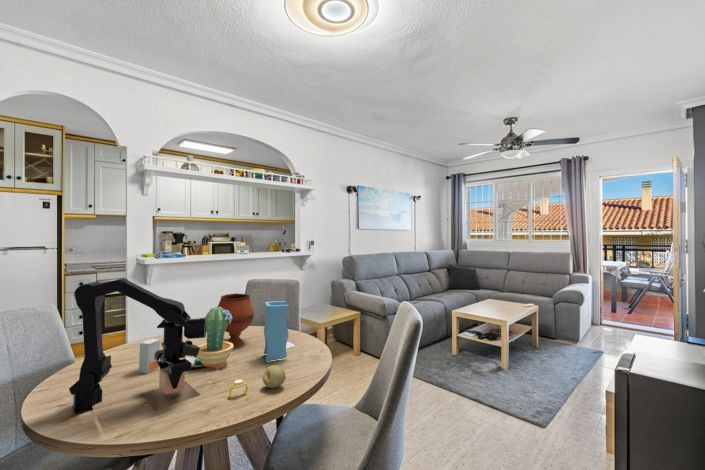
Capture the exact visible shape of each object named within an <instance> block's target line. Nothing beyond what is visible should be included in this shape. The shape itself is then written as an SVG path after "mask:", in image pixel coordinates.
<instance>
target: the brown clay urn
mask: <svg viewBox="0 0 705 470" xmlns="http://www.w3.org/2000/svg"><path fill="white" fill-rule="evenodd" d="M218 302H219V303H218V304H217V306H216V307H217V308H218V307H221V308H223V310H228V311H229V312H230V313H231V315H232V321H231V323H230V324H229V319H228V324H227V328H226V330H225V333H228V335H229V338H228V339H227V341H226V342H230V343H233V346H234V347H239V346H242V345H243V344H244V341H243V339H242V338H241V337H240V336H241V334H242V332H243V331H245V330H246V329H248V328H249V326H250V325H251V324H252V323H253V321H254V317H255V316H254V313H255V312H254V311H255V310H254V307H253V305H252V302H251V295H250V294H246V293H237V292H236V293H229V294H224V295H222V296H221V297H220V300H219V301H218ZM234 347H233V348H234Z"/></svg>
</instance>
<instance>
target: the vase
mask: <svg viewBox="0 0 705 470" xmlns="http://www.w3.org/2000/svg"><path fill="white" fill-rule="evenodd" d="M264 305H265V309H266V320H265V323H264V327H263V333H264V341H265V342H264V343H265V344H264V351H263V354H267V355H265V356H266V357H265V361H271V360H277V359H283V358H286V357H287V358H288V354H287V343H288V338H289V330H288V327H287V325H288V324H287V314H288V310H289V306H290V305H289V304H286V301H285V300H278V301H277V300H275V301H266V302H264Z"/></svg>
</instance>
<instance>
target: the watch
mask: <svg viewBox="0 0 705 470" xmlns="http://www.w3.org/2000/svg"><path fill="white" fill-rule="evenodd" d="M240 385H244V386H245V391H244V392H243V394H244V395H247V393H248V391H249V389H248V388H249V387H248V385H247V383H246V382H245V381H244V380H243V379H240V378H239V379H236V380H234V382H233V383H232V384H231V385H230V386H229V390H228V395H229V397H230V398H231V399H233V395H232V390H233V388H234V387H235V386H240Z"/></svg>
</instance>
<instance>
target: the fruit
mask: <svg viewBox="0 0 705 470" xmlns="http://www.w3.org/2000/svg"><path fill="white" fill-rule="evenodd" d="M262 375H263V376H262V382H263V384H264V385H265V386H266V387H267V388H270V389H277V388H279V387H281V386H282V385H283V384H284V382H285V380H286V376H287V375H286V372H285V370H284V369H283V367H281V366H280V365H270V366H268V367H267V368H266V369H265V370H264V372H263V374H262Z"/></svg>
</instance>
